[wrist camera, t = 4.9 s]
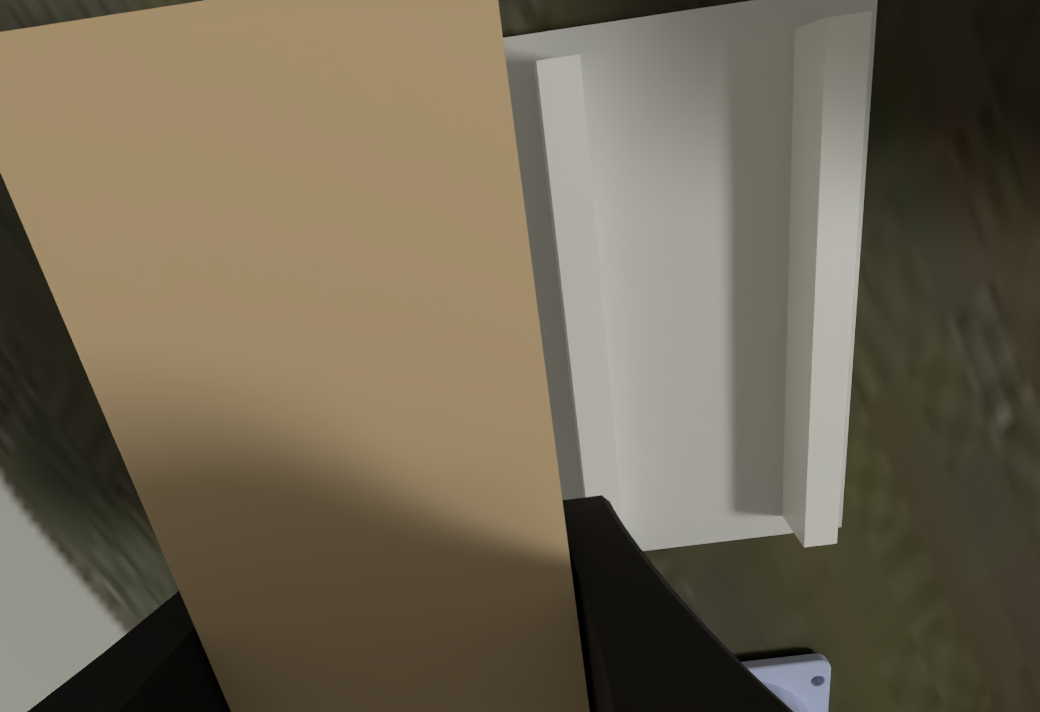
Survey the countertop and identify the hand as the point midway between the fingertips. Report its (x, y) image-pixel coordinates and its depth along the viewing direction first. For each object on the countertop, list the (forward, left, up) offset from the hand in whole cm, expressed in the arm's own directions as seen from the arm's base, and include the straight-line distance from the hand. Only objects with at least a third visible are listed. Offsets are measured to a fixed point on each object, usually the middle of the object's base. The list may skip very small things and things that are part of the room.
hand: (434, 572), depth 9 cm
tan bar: (0, 0, -3) cm, 3 cm away
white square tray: (0, -3, -10) cm, 11 cm away
